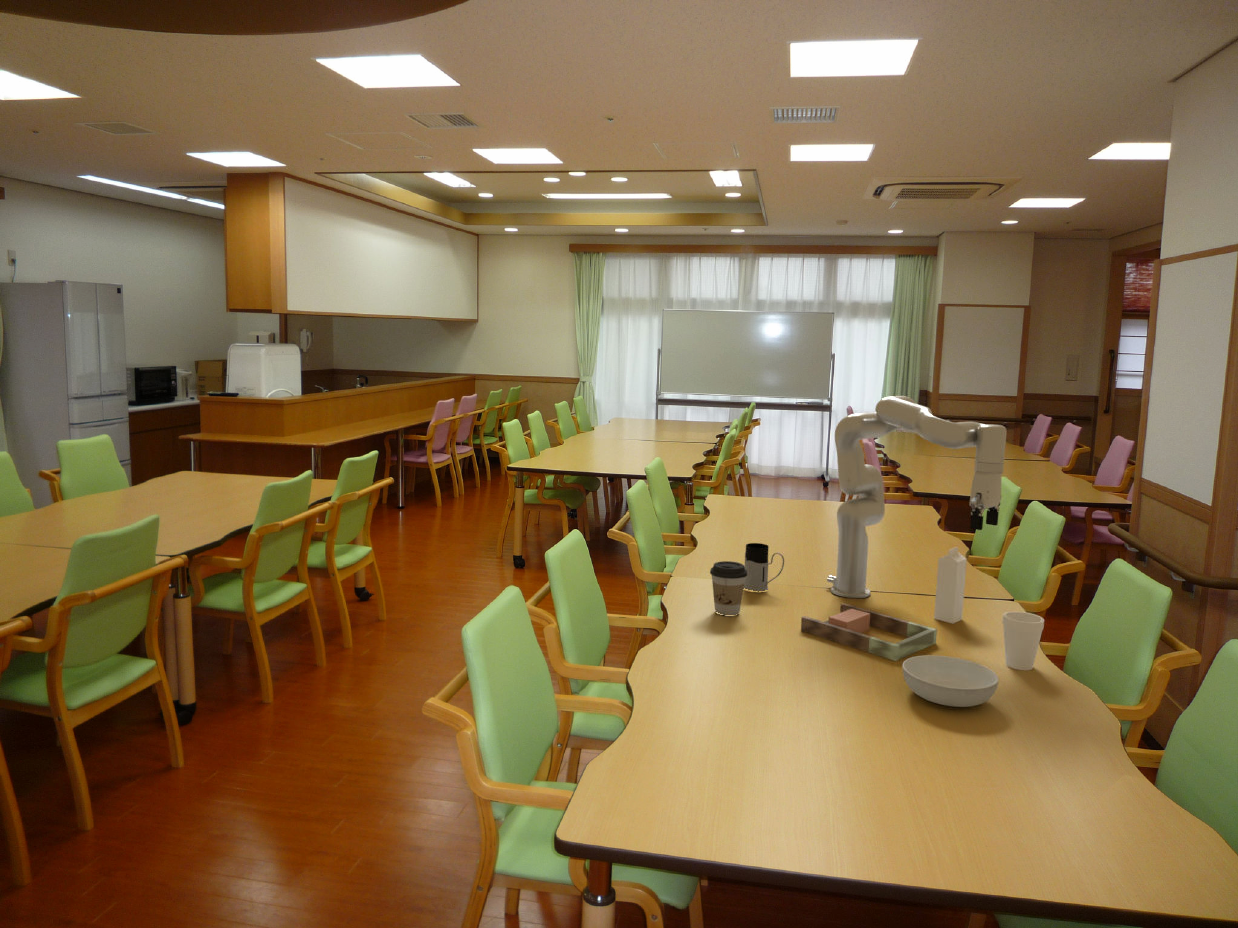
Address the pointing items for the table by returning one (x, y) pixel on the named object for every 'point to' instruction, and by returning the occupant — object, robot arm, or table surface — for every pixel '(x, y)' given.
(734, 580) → the coffee cup
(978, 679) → the serving bowl
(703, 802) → the table surface
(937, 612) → the milk
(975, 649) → the table surface
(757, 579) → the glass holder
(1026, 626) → the foam cup
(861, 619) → the terracotta block
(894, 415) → the robot arm
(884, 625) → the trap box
